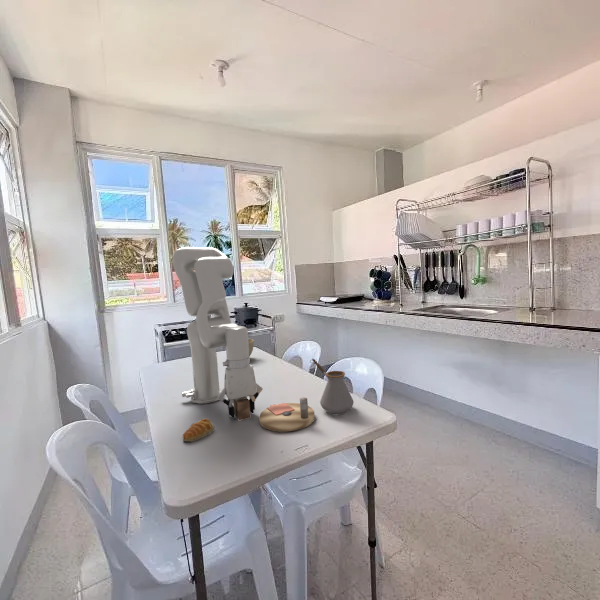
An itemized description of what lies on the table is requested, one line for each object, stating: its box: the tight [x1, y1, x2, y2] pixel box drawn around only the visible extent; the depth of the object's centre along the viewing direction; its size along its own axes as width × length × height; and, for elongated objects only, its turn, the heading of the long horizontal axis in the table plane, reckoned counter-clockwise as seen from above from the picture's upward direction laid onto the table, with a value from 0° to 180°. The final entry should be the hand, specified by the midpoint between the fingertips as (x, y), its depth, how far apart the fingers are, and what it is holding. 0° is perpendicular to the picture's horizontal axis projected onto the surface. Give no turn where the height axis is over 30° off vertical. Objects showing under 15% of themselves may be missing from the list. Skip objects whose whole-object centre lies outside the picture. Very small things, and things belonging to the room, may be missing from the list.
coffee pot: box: [309, 358, 354, 416], centre depth 115 cm, size 21×12×15 cm, turn 28°
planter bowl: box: [248, 338, 255, 358], centre depth 185 cm, size 16×16×11 cm
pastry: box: [182, 418, 215, 442], centre depth 99 cm, size 9×7×4 cm
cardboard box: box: [233, 396, 251, 421], centre depth 111 cm, size 4×6×6 cm, turn 27°
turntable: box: [258, 396, 315, 433], centre depth 106 cm, size 18×18×8 cm
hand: (242, 413), depth 111 cm, fingers open, 6 cm apart
